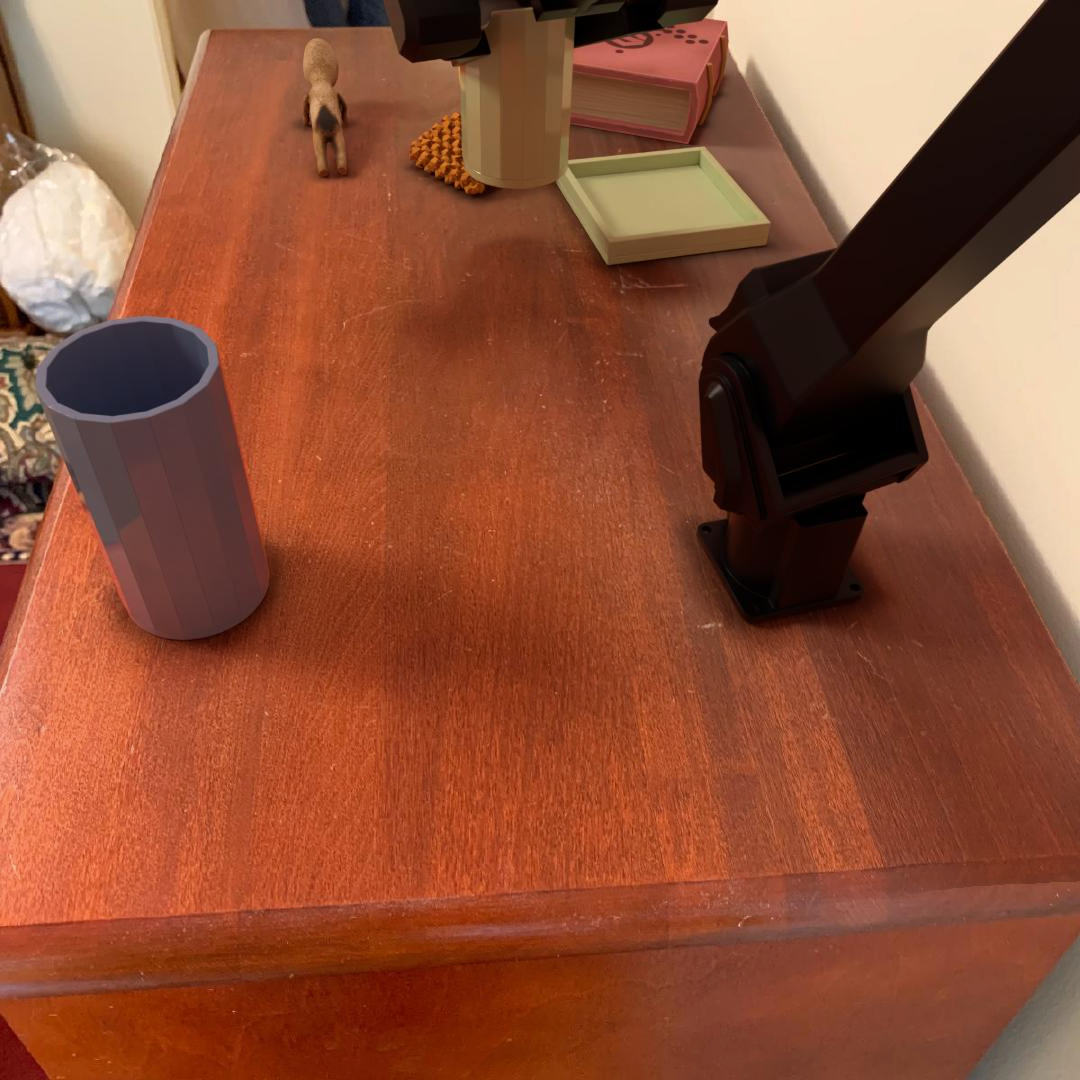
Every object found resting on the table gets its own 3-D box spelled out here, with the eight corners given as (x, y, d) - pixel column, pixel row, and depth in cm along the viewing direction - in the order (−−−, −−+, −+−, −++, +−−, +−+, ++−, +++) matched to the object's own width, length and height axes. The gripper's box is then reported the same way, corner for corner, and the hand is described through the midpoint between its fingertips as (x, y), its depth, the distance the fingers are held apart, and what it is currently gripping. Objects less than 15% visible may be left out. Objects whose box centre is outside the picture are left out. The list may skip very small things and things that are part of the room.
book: (698, 145, 83) (707, 84, 80) (523, 116, 86) (524, 55, 83) (727, 80, 93) (737, 22, 89) (568, 55, 96) (572, -2, 92)
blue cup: (277, 623, 47) (224, 405, 38) (125, 653, 46) (31, 434, 36) (262, 523, 52) (212, 306, 42) (123, 547, 50) (39, 328, 41)
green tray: (766, 245, 73) (771, 222, 71) (607, 265, 70) (609, 242, 69) (701, 167, 81) (704, 146, 79) (555, 183, 78) (557, 161, 77)
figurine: (359, 196, 80) (342, 78, 87) (354, 148, 76) (337, 28, 83) (311, 200, 79) (299, 80, 86) (304, 151, 75) (291, 30, 83)
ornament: (534, 139, 72) (530, 16, 79) (392, 164, 73) (402, 40, 81) (550, 214, 77) (546, 92, 85) (418, 235, 79) (426, 113, 87)
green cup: (539, 198, 62) (546, -34, 53) (444, 173, 64) (433, -55, 55) (585, 154, 67) (598, -67, 57) (493, 132, 68) (492, -86, 59)
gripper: (730, -294, 49) (606, -96, 64) (364, -284, 43) (320, -68, 58) (790, -66, 50) (653, 78, 65) (439, -25, 44) (376, 124, 59)
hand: (507, 50), depth 61 cm, fingers closed on green cup, 7 cm apart
